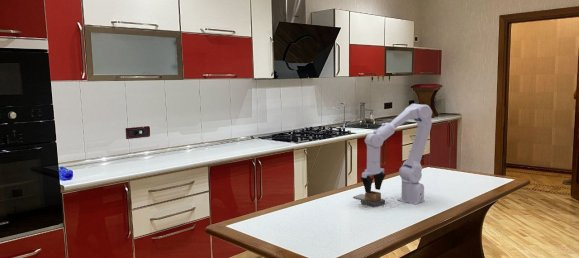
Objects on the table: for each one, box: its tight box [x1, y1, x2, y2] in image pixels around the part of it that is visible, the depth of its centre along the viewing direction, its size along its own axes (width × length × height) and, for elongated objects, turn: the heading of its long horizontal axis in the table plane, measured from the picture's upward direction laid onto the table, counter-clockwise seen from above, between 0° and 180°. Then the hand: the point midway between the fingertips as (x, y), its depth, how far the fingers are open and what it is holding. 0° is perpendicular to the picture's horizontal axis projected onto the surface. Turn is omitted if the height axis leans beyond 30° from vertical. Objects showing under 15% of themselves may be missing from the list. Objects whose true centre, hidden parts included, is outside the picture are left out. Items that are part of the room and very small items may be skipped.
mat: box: [352, 193, 365, 201], centre depth 200 cm, size 7×7×1 cm
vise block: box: [360, 193, 386, 208], centre depth 190 cm, size 8×7×4 cm
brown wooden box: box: [364, 190, 382, 202], centre depth 190 cm, size 5×5×3 cm
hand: (372, 191), depth 189 cm, fingers open, 7 cm apart
